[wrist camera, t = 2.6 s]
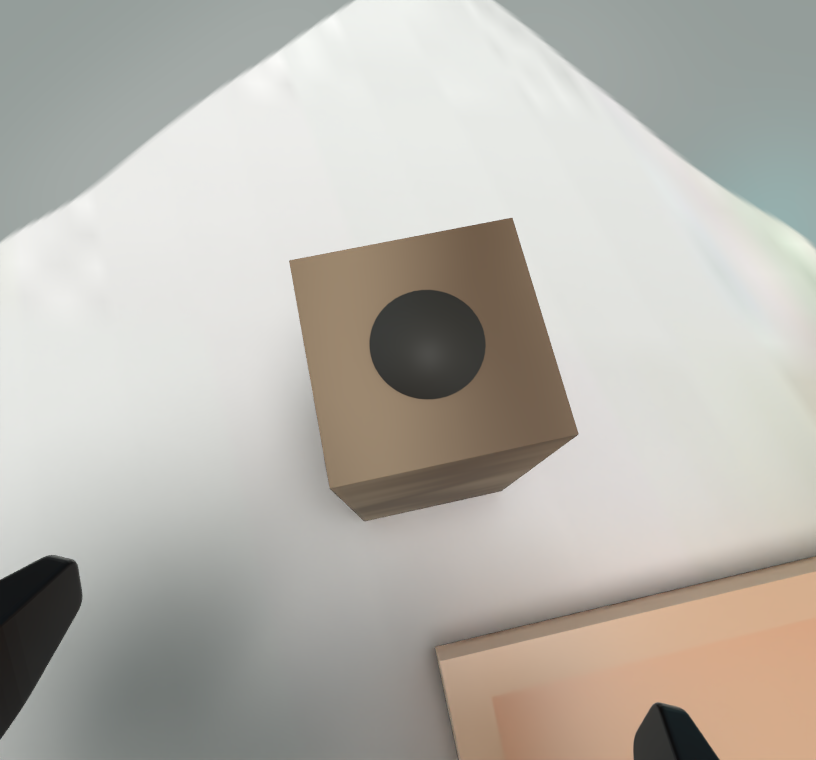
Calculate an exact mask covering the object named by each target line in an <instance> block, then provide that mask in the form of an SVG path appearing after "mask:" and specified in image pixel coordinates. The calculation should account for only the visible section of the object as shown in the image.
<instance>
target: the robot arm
mask: <svg viewBox="0 0 816 760" xmlns="http://www.w3.org/2000/svg"><path fill="white" fill-rule="evenodd" d="M81 602H82V589H81V582H80V576H79V569H78V565H77V563H76V562H75V561H74V560H72V559H68V558H64V557H60V556H56V555H49V556H46V557H43V558H41V559H39V560H37V561H35V562H33V563H31V564H29V565H28V566H26V567H24V568H22V569H20V570H18V571H16V572H14V573H12V574H10V575H8V576H7V577H5V578H3V579H1V580H0V739H1V738H2V736H3V735H4V734H5V732H6V731H7V729H8V728H9V726H10V725H11V724H12V722H13V721H14V719H15V718H16V716H17V715H18V713H19V712H20V710H21V709H22V707H23V706H24V704H25V703H26V701H27V699H28V698H29V696H30V694H31V693H32V691H33V689H34V688H35V686H36V684H37V682H38V681H39V679H40V677H41V675H42V674H43V672H44V670H45V668H46V667H47V665H48V663H49V661H50V660H51V658H52V656H53V654H54V653H55V651H56V649H57V647H58V646H59V644H60V642H61V640H62V639H63V637H64V635H65V633H66V632H67V630H68V628H69V626H70V625H71V623H72V621H73V619H74V618H75V616H76V614H77V612H78V610H79V608H80V606H81ZM633 758H634V760H720V759H719V758H718V756H717V755H716V753H715V752H714V750H713V749H712V748H711V746H710V745H709V743H708V742H707V740H706V739H705V737H704V736H703V734H702V733H701V731H700V730H699V729H698V727H697V726H696V724H695V723H694V721H693V720H692V718H691V717H690V716H689V714H688V713H687V712H686V711H685V710H684V709H682V708H680V707H677V706H673V705H669V704H665V703H661V702H657V703H654V704H653V705H652V706H651V708H650V709H649V711H648V713H647V714H646V716H645V718H644V719H643V721H642V723H641V724H640V726H639V728H638V730H637V731H636V734H635V737H634V742H633Z"/></svg>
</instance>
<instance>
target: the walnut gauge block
mask: <svg viewBox="0 0 816 760" xmlns="http://www.w3.org/2000/svg"><path fill="white" fill-rule="evenodd" d="M289 262H290V268H291V273H292V279H293V285H294V290H295V296H296V301H297V307H298V313H299V318H300V324H301V330H302V335H303V341H304V346H305V352H306V358H307V363H308V369H309V374H310V380H311V386H312V391H313V397H314V403H315V408H316V414H317V419H318V425H319V431H320V436H321V442H322V447H323V453H324V459H325V464H326V470H327V476H328V481H329V487H330V489H331V490H332V491H333V492H334V493H335V494H336V495H337V496H338V497H339V498H340V499H342V500H343V501H344V502H345V503H346V504H347V505H348V506H349V507H350V508H351V509H352V510H353V511H354V512H355V513H356V514H357V515H358V516H360V517H361V518H362V519H363V520H364V521H368V520H373V519H377V518H382V517H386V516H391V515H395V514H400V513H404V512H409V511H413V510H418V509H422V508H427V507H431V506H436V505H440V504H445V503H449V502H454V501H458V500H463V499H467V498H472V497H476V496H481V495H485V494H490V493H494V492H499V491H502V490H503V489H505V488H506V487H507V486H509V485H510V484H512V483H513V482H514V481H516V480H517V479H518V478H520V477H521V476H522V475H524V474H525V473H527V472H528V471H529V470H531V469H532V468H533V467H535V466H536V465H537V464H539V463H540V462H541V461H543V460H544V459H546V458H547V457H548V456H550V455H551V454H552V453H554V452H555V451H556V450H558V449H559V448H561V447H562V446H563V445H565V444H566V443H567V442H569V441H570V440H571V439H573V438H574V437H576V436H577V435H578V431H577V428H576V424H575V421H574V418H573V415H572V411H571V408H570V405H569V402H568V398H567V395H566V392H565V388H564V385H563V382H562V379H561V375H560V372H559V369H558V366H557V362H556V359H555V356H554V352H553V349H552V346H551V343H550V339H549V336H548V333H547V330H546V326H545V323H544V320H543V317H542V313H541V310H540V307H539V303H538V300H537V297H536V294H535V290H534V287H533V284H532V281H531V277H530V274H529V271H528V267H527V264H526V261H525V258H524V254H523V251H522V248H521V245H520V241H519V238H518V235H517V232H516V228H515V225H514V222H513V218H508V219H503V220H498V221H493V222H488V223H482V224H477V225H472V226H467V227H462V228H456V229H451V230H446V231H441V232H435V233H430V234H425V235H420V236H415V237H409V238H404V239H399V240H394V241H389V242H383V243H378V244H373V245H368V246H363V247H357V248H352V249H347V250H342V251H337V252H331V253H326V254H321V255H316V256H311V257H305V258H300V259H295V260H290V261H289Z"/></svg>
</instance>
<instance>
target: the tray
mask: <svg viewBox="0 0 816 760" xmlns="http://www.w3.org/2000/svg"><path fill="white" fill-rule="evenodd" d="M435 650H436V655H437V660H438V664H439V669H440V674H441V679H442V683H443V688H444V693H445V697H446V702H447V707H448V712H449V716H450V721H451V726H452V730H453V735H454V740H455V745H456V749H457V754H458V759H459V760H634V758H633V742H634V737H635V734H636V731H637V730H638V728H639V726H640V724H641V723H642V721H643V719H644V718H645V716H646V714H647V713H648V711H649V709H650V708H651V706H652V705H653V704H654V703H657V702H661V703H665V704H669V705H673V706H677V707H680V708H682V709H684V710H685V711H686V712H687V713H688V714H689V716H690V717H691V718H692V720H693V721H694V723H695V724H696V726H697V727H698V729H699V730H700V731H701V733H702V734H703V736H704V737H705V739H706V740H707V742H708V743H709V745H710V746H711V748H712V749H713V750H714V752H715V753H716V755H717V756H718V758H719V759H720V760H816V556H815V557H810V558H806V559H802V560H798V561H794V562H789V563H785V564H781V565H777V566H773V567H768V568H764V569H760V570H756V571H752V572H747V573H743V574H739V575H735V576H731V577H726V578H722V579H718V580H714V581H710V582H705V583H701V584H697V585H693V586H689V587H684V588H680V589H676V590H672V591H668V592H663V593H659V594H655V595H651V596H647V597H642V598H638V599H634V600H630V601H626V602H621V603H617V604H613V605H609V606H605V607H600V608H596V609H592V610H588V611H584V612H579V613H575V614H571V615H567V616H562V617H558V618H554V619H550V620H546V621H541V622H537V623H533V624H529V625H525V626H520V627H516V628H512V629H508V630H504V631H499V632H495V633H491V634H487V635H483V636H478V637H474V638H470V639H466V640H462V641H457V642H453V643H449V644H445V645H441V646H436V647H435Z"/></svg>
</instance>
